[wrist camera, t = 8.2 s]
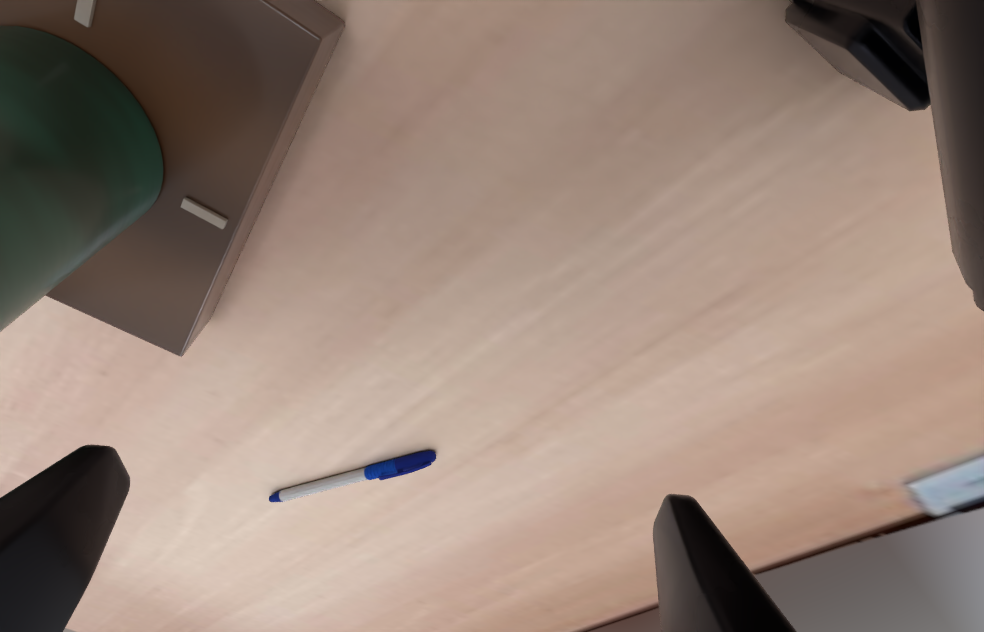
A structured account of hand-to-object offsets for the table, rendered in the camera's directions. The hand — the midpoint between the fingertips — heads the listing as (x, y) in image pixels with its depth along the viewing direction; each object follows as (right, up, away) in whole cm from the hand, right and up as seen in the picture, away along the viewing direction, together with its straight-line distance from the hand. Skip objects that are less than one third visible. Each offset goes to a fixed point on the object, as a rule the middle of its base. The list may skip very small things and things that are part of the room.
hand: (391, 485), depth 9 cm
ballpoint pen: (-6, -6, +21) cm, 23 cm away
